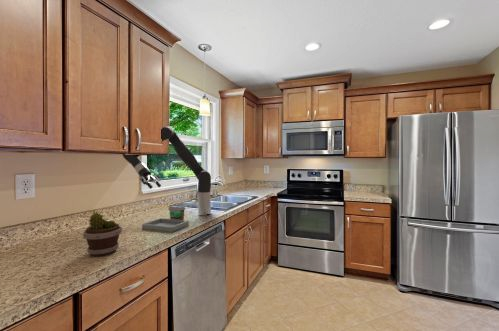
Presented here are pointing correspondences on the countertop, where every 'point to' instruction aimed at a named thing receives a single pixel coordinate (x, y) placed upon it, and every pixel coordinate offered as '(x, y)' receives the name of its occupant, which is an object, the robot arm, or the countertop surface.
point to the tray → (165, 225)
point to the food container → (176, 212)
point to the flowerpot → (102, 235)
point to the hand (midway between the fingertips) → (156, 187)
